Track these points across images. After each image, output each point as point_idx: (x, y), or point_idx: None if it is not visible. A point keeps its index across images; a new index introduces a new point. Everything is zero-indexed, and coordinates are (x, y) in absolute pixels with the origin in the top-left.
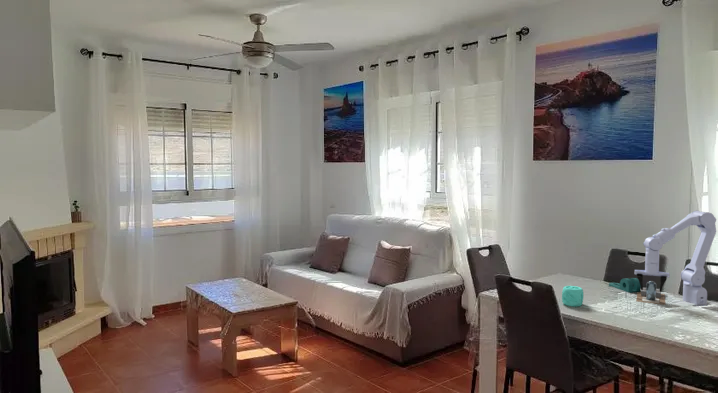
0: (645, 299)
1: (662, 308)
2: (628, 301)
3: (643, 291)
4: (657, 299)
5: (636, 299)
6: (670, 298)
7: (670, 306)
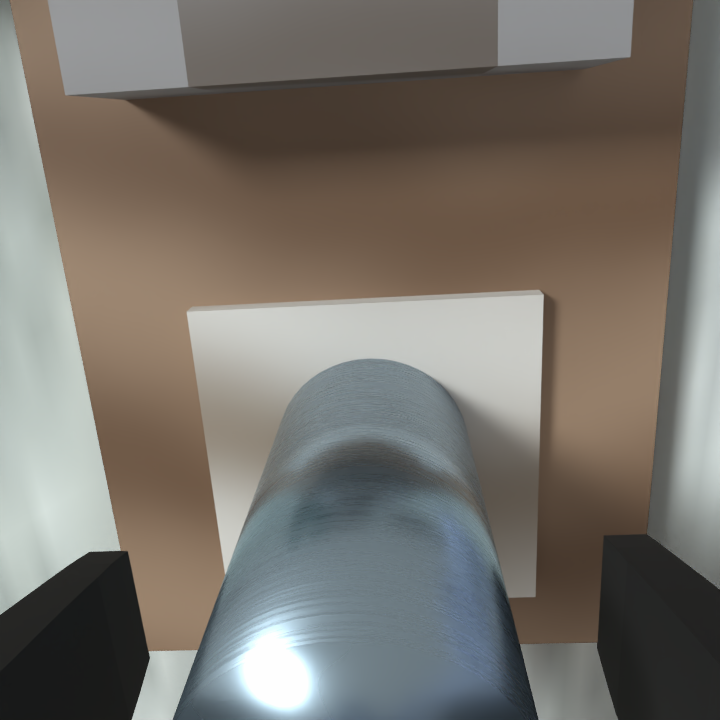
0: None
1: (569, 716)
2: (13, 552)
3: (132, 93)
4: (506, 374)
5: (115, 517)
6: None
7: (717, 533)
